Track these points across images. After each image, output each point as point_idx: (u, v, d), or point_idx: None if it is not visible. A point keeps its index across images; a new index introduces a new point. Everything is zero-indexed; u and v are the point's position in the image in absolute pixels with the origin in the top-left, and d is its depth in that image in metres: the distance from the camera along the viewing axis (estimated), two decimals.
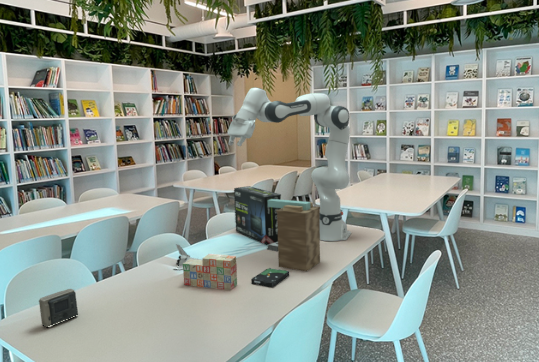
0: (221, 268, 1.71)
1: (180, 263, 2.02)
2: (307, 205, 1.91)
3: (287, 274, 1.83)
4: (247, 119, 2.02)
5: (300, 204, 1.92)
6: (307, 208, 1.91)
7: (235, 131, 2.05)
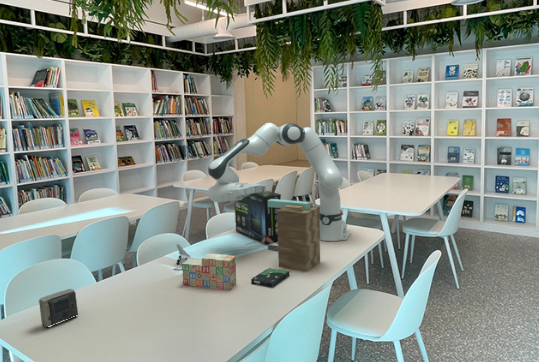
0: (220, 268, 1.71)
1: (180, 263, 2.02)
2: (307, 205, 1.91)
3: (287, 274, 1.83)
4: None
5: (300, 204, 1.92)
6: (307, 208, 1.91)
7: None
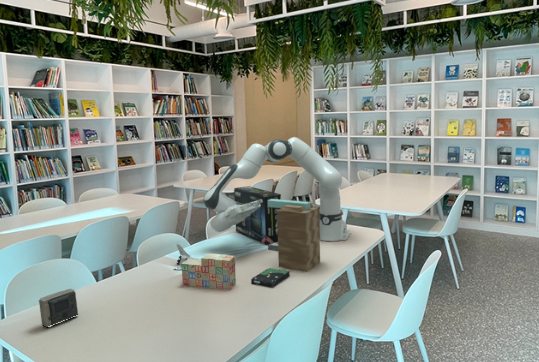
0: (220, 268, 1.72)
1: (180, 263, 2.02)
2: (307, 205, 1.91)
3: (287, 274, 1.83)
4: None
5: (300, 204, 1.92)
6: (307, 208, 1.91)
7: (249, 210, 2.11)
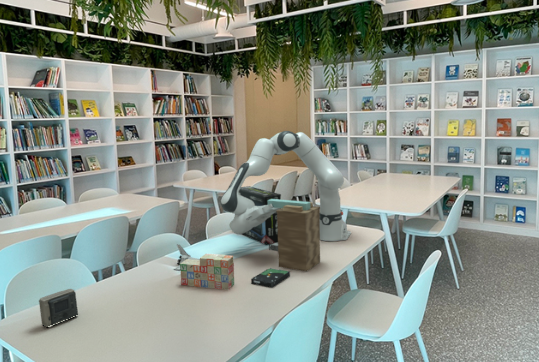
0: (218, 268, 1.72)
1: None
2: (307, 205, 1.91)
3: (287, 274, 1.83)
4: None
5: (300, 204, 1.92)
6: (307, 208, 1.91)
7: (270, 212, 2.04)
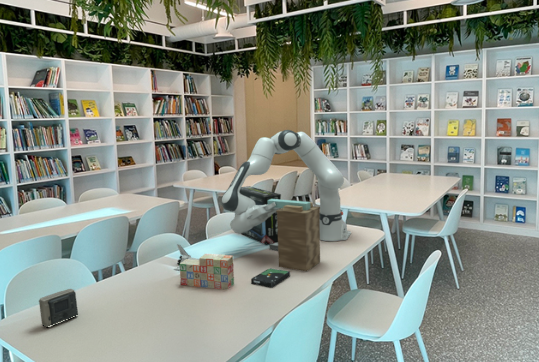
0: (218, 267, 1.72)
1: None
2: (307, 205, 1.91)
3: (287, 274, 1.83)
4: None
5: (300, 204, 1.92)
6: (307, 208, 1.91)
7: (271, 211, 2.03)
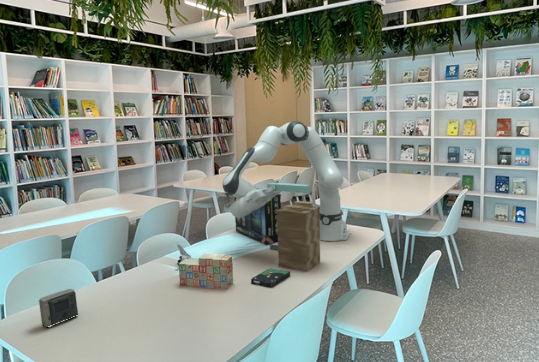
0: (217, 267, 1.72)
1: None
2: (307, 188, 1.90)
3: (288, 274, 1.82)
4: (254, 201, 2.02)
5: (300, 187, 1.90)
6: (307, 191, 1.90)
7: (271, 194, 2.02)
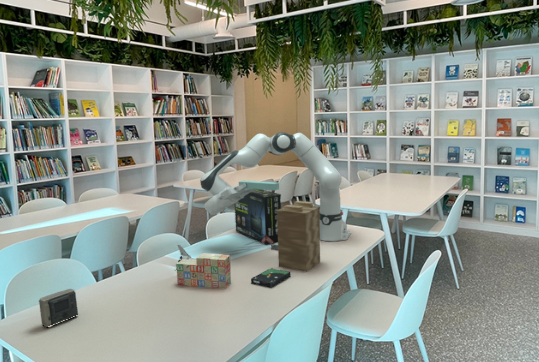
0: (215, 267, 1.73)
1: None
2: (275, 185, 1.98)
3: (288, 275, 1.82)
4: (226, 198, 2.10)
5: (269, 185, 1.99)
6: (275, 188, 1.98)
7: (242, 192, 2.11)
